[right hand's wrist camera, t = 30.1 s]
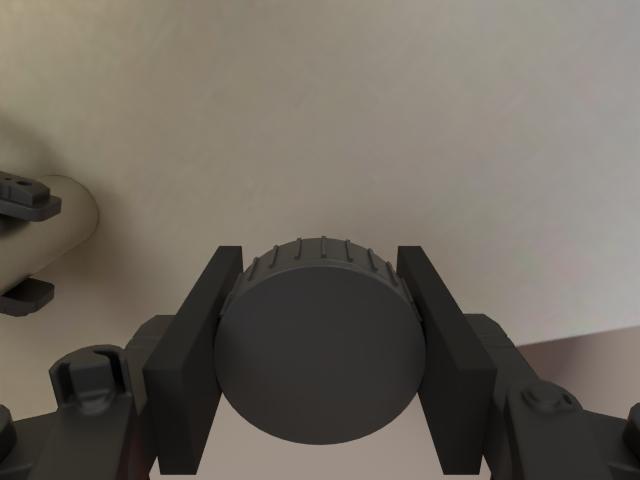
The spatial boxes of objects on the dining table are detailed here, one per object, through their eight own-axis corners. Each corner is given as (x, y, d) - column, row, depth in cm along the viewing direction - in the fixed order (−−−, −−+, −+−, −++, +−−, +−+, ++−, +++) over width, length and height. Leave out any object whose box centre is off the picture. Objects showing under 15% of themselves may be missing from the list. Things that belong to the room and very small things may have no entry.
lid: (337, 427, 13) (339, 477, 12) (189, 339, 12) (167, 381, 11) (453, 306, 12) (476, 344, 10) (298, 195, 11) (294, 215, 9)
